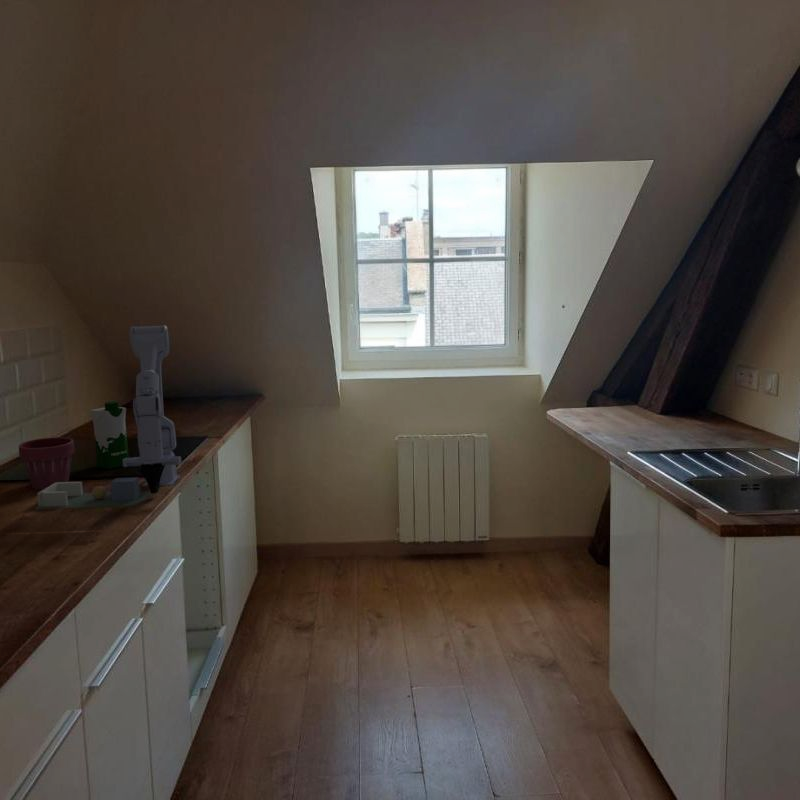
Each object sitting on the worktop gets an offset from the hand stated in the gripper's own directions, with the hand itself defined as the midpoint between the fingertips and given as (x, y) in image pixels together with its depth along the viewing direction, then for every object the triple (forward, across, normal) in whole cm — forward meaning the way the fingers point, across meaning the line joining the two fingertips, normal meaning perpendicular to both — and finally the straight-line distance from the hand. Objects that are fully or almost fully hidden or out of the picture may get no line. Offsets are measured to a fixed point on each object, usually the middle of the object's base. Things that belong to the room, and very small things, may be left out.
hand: (154, 492), depth 198 cm
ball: (0, -14, 0) cm, 15 cm away
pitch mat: (+2, -16, 0) cm, 16 cm away
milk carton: (+2, -26, +39) cm, 47 cm away
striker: (+1, -8, 0) cm, 8 cm away
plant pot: (+2, -34, +16) cm, 38 cm away
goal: (+1, -24, 0) cm, 25 cm away
